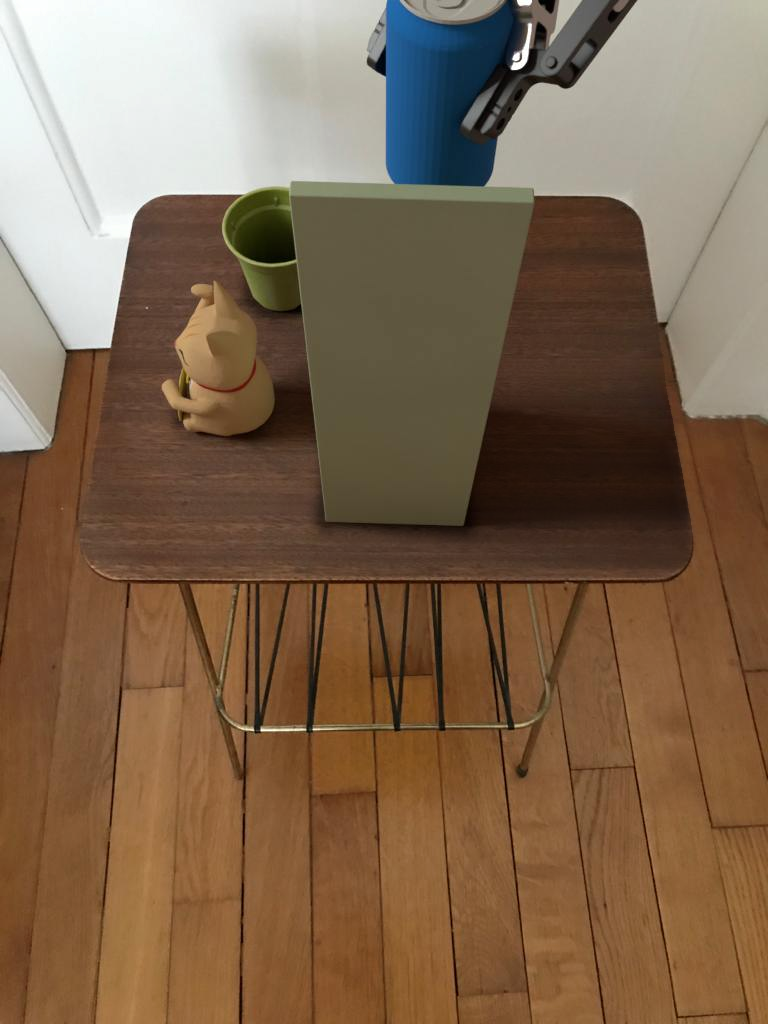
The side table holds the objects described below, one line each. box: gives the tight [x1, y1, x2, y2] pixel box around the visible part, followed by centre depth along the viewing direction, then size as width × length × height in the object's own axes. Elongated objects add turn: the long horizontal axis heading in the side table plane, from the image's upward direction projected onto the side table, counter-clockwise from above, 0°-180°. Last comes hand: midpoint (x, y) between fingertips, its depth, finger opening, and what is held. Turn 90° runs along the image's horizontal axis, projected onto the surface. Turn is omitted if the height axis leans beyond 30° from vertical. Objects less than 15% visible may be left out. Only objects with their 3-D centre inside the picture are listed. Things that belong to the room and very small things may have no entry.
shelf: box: [289, 180, 536, 527], centre depth 64 cm, size 12×12×38 cm
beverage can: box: [385, 0, 513, 187], centre depth 49 cm, size 6×6×12 cm
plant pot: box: [221, 185, 301, 312], centre depth 85 cm, size 9×9×9 cm
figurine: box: [161, 280, 276, 437], centre depth 76 cm, size 9×10×15 cm
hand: (424, 104), depth 49 cm, fingers closed on beverage can, 6 cm apart
